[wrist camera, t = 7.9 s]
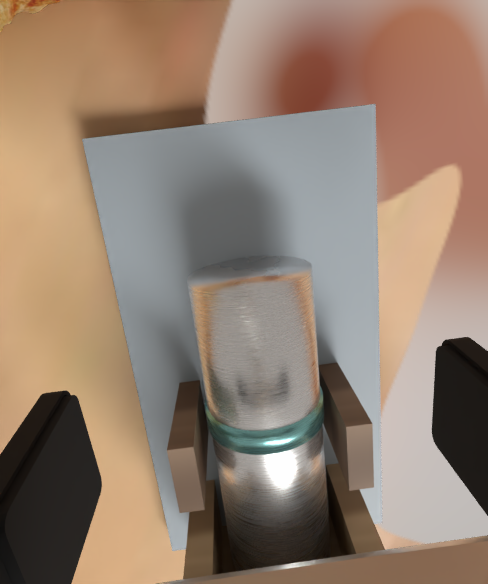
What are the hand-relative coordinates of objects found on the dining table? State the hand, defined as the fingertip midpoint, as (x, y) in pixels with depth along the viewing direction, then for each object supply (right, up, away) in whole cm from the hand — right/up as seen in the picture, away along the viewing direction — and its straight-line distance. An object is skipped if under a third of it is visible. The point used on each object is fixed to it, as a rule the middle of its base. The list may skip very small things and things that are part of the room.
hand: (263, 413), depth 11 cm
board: (0, 0, +11) cm, 10 cm away
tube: (0, -2, +10) cm, 10 cm away
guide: (0, -2, +10) cm, 10 cm away
